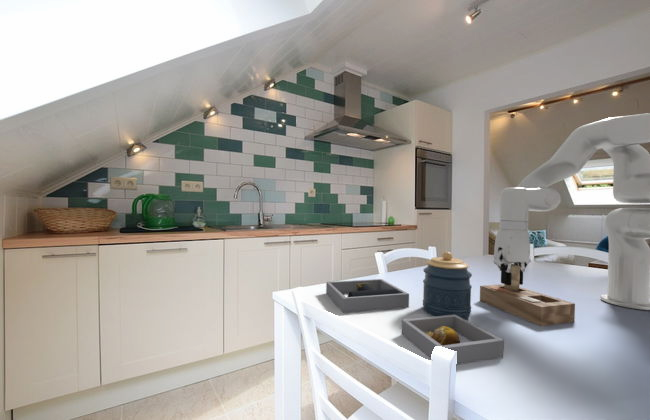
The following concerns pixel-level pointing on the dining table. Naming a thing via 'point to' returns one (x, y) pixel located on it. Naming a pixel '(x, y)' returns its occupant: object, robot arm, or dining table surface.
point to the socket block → (529, 305)
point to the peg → (514, 278)
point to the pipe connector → (370, 291)
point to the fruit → (444, 336)
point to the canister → (447, 287)
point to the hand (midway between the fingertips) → (511, 283)
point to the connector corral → (365, 302)
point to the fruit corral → (477, 350)
